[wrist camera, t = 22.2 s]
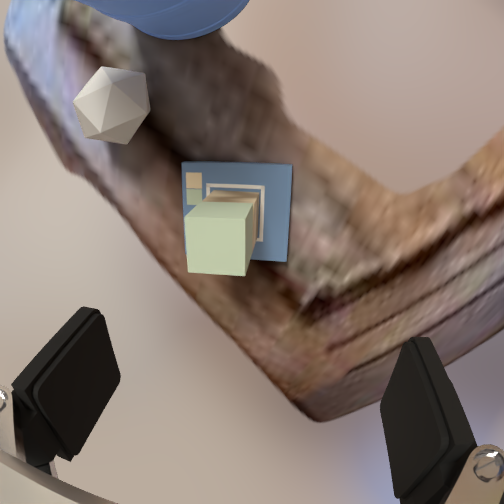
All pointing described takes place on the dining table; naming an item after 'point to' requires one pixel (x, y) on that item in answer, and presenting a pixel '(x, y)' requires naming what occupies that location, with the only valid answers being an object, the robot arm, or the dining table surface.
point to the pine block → (238, 198)
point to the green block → (219, 238)
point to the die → (113, 105)
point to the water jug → (171, 15)
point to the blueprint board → (247, 180)
